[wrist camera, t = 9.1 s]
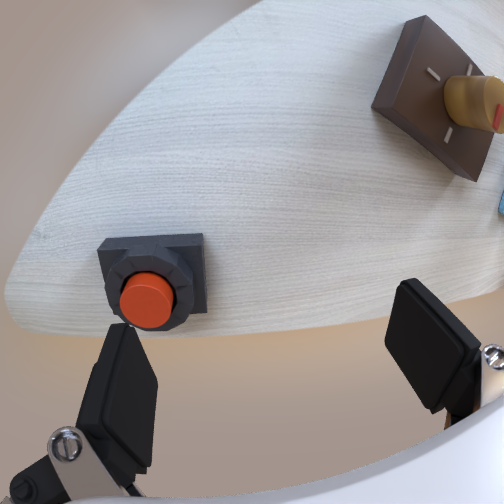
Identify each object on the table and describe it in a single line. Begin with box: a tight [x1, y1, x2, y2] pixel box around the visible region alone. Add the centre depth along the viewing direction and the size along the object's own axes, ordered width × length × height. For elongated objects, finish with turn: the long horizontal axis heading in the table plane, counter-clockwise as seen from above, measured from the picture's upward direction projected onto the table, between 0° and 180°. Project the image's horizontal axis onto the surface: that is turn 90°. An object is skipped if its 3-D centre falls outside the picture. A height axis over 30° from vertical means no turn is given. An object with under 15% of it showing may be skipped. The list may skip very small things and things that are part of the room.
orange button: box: [120, 272, 173, 328], centre depth 19 cm, size 4×4×2 cm
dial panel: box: [371, 15, 494, 182], centre depth 18 cm, size 12×10×3 cm
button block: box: [97, 233, 207, 331], centre depth 21 cm, size 8×6×4 cm
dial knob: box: [444, 76, 504, 134], centre depth 14 cm, size 4×4×5 cm
